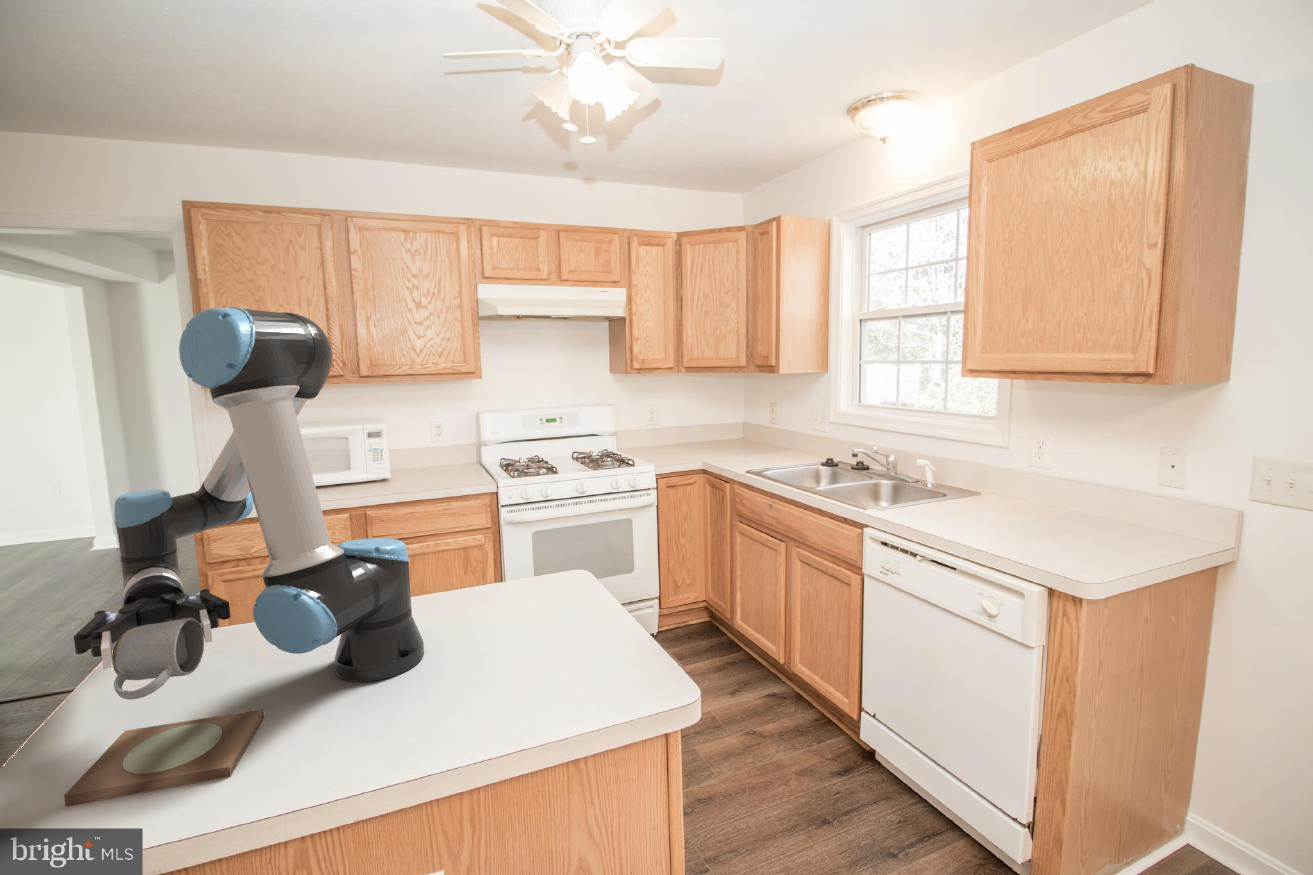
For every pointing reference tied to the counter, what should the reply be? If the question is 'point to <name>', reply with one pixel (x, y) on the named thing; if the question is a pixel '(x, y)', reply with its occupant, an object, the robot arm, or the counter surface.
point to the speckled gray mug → (157, 654)
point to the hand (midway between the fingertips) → (159, 644)
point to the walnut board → (168, 757)
